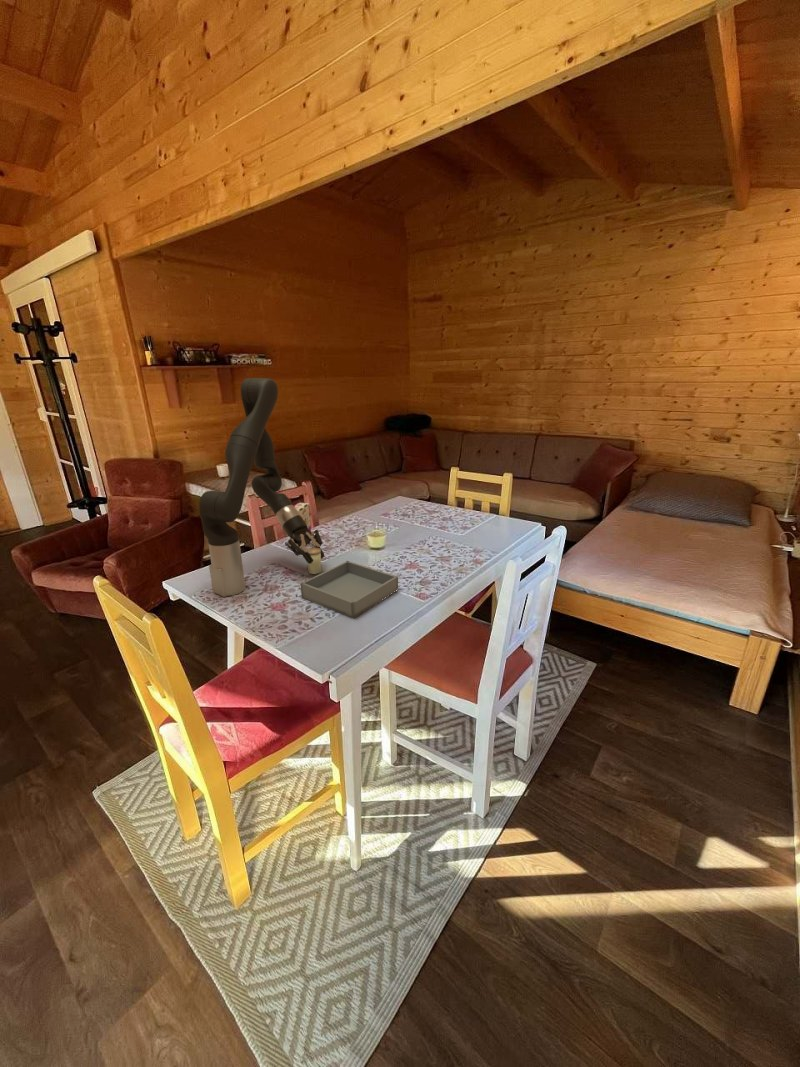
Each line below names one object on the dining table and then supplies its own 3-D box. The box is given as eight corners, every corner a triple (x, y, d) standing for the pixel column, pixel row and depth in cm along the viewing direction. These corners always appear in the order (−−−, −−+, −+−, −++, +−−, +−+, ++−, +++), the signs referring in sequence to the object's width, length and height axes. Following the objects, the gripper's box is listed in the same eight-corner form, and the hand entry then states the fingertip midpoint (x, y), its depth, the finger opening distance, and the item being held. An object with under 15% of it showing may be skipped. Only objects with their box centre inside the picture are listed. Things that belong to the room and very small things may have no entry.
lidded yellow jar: (314, 575, 156) (313, 553, 153) (305, 571, 158) (303, 550, 156) (324, 570, 159) (323, 549, 157) (315, 567, 162) (313, 546, 159)
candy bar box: (301, 539, 192) (298, 502, 187) (312, 539, 191) (309, 502, 186) (290, 548, 182) (286, 510, 176) (301, 549, 181) (298, 510, 175)
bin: (353, 618, 131) (353, 603, 129) (301, 597, 143) (300, 583, 141) (397, 590, 148) (398, 576, 146) (348, 573, 160) (347, 560, 158)
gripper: (279, 519, 151) (306, 561, 149) (310, 510, 162) (336, 548, 160) (270, 531, 156) (296, 571, 153) (301, 521, 167) (326, 558, 164)
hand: (317, 559), depth 156 cm, fingers closed on lidded yellow jar, 4 cm apart
